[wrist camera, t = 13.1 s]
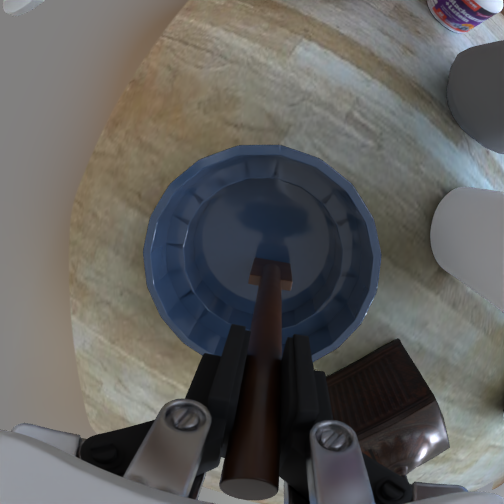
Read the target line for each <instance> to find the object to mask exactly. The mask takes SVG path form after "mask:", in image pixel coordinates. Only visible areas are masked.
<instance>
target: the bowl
mask: <svg viewBox="0 0 504 504" xmlns="http://www.w3.org/2000/svg"><path fill="white" fill-rule="evenodd" d="M143 257H144V266H145V275H146V283H147V287H148V290H149V292H150V294H151V297H152V299H153V301H154V303H155V305H156V308H157V310H158V312H159V314H160V316H161V318H162V319H163V320H164V321H165V323H166V324H167V325H168V326H169V327H170V328H171V330H172V331H173V332H174V333H175V334H176V335H177V336H178V338H179V339H180V340H181V341H182V342H183V343H184V344H186V345H187V346H189V347H190V348H192V349H193V350H195V351H196V352H198V353H199V354H201V355H202V356H203V354H204V353H208V354H213V355H218V356H222V353H223V349H224V346H225V343H226V340H227V337H228V334H229V330H230V327H231V324H236V325H241V326H246V330H248V331H250V329H251V324H252V319H253V313H254V308H255V303H256V297H257V292H258V287H259V286H258V285H252V284H248V281H249V275H250V271H251V268H252V264H253V261H254V258H255V257H256V258H262V259H268V260H274V261H279V262H285V263H290V265H291V273H292V281H293V283H292V288H291V291H287V290H281V298H282V356H283V352H284V348H285V344H286V340H287V337H291V338H292V337H293V335H294V334H297V335H304V336H308V337H309V342H310V349H311V355H312V362H314V361H316V360H318V359H319V358H321V357H323V356H325V355H327V354H328V353H330V352H332V351H334V350H335V349H337V348H338V347H339V346H340V345H341V344H342V343H343V342H344V341H345V340H346V339H347V338H348V337H349V336H350V335H351V334H352V333H353V332H354V331H355V330H356V329H357V328H358V327H359V326H360V324H361V323H362V321H363V319H364V317H365V315H366V313H367V311H368V309H369V307H370V305H371V303H372V301H373V299H374V297H375V295H376V291H377V287H378V280H379V272H380V264H381V250H380V245H379V240H378V235H377V231H376V226H375V222H374V219H373V217H372V215H371V213H370V212H369V210H368V208H367V207H366V205H365V203H364V202H363V200H362V198H361V197H360V195H359V194H358V192H357V190H356V189H355V187H354V186H353V185H352V184H351V183H350V182H349V181H348V180H347V179H345V178H344V177H343V176H342V175H341V174H339V173H338V172H337V171H336V170H334V169H333V168H332V167H330V166H329V165H328V164H327V163H325V162H324V161H323V160H321V159H319V158H317V157H314V156H312V155H309V154H306V153H303V152H300V151H297V150H294V149H291V148H288V147H285V146H282V145H281V146H280V145H239V146H235V147H232V148H229V149H226V150H223V151H221V152H218V153H215V154H212V155H210V156H207V157H204V158H202V159H200V160H198V161H197V162H196V163H194V164H193V165H192V166H191V167H189V168H188V169H187V170H186V171H185V172H183V173H182V174H181V175H180V176H179V177H177V178H176V179H175V180H174V181H173V182H172V183H170V185H169V186H168V188H167V189H166V191H165V192H164V194H163V196H162V197H161V199H160V201H159V202H158V204H157V206H156V207H155V209H154V211H153V213H152V214H151V217H150V220H149V224H148V229H147V234H146V238H145V243H144V248H143Z"/></svg>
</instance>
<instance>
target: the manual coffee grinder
mask: <svg viewBox="0 0 504 504" xmlns="http://www.w3.org/2000/svg"><path fill="white" fill-rule="evenodd" d="M326 381H327V386H328V392H329V397H330V403H331V408H332V414H333V420H337V421H340V422H343V423H345V424H347V425H348V426H350V427H351V428H352V429H353V430H354V431H355V433H356V435H357V438H358V442H359V445H360V449H361V452H363V453H364V454H366V455H367V456H369V457H370V458H372V459H374V460H375V461H377V462H378V463H380V464H382V465H383V466H385V467H386V468H388V469H390V470H391V471H393V472H395V473H396V474H398V475H400V476H402V477H403V478H404V479H406V480H407V481H408V479H407V476H406V475H407V474H408V473H409V472H411V471H412V470H413V469H415V468H416V467H418V466H420V465H422V464H424V463H425V462H427V461H429V460H430V459H432V458H434V457H435V456H437V455H439V454H440V453H442V452H443V451H445V450H447V449H448V448H450V445H449V440H448V435H447V431H446V426H445V422H444V418H443V415H442V413H441V410H440V408H439V405H438V403H437V401H436V398H435V396H434V394H433V393H432V391H431V390H430V388H429V387H428V385H427V384H426V382H425V380H424V379H423V377H422V375H421V374H420V372H419V371H418V369H417V367H416V366H415V364H414V363H413V361H412V359H411V358H410V356H409V355H408V353H407V352H406V350H405V348H404V347H403V345H402V343H401V341H400V339H396V340H394V341H393V342H391V343H389V344H387V345H385V346H383V347H381V348H379V349H377V350H376V351H374V352H372V353H371V354H369V355H367V356H365V357H364V358H362V359H360V360H358V361H356V362H354V363H353V364H351V365H349V366H347V367H345V368H343V369H341V370H339V371H338V372H336V373H334V374H332V375H330V376H328V377H326Z"/></svg>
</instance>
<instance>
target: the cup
mask: <svg viewBox="0 0 504 504" xmlns="http://www.w3.org/2000/svg"><path fill="white" fill-rule="evenodd" d="M447 99H448V105H449V108H450V110H451V113H452V115H453V117H454V119H455V120H456V122H457V123H458V125H459V126H460V127H461V129H463V130H464V131H465V132H466V133H467V134H468V135H470V136H471V137H472V138H473V139H475V140H476V141H477V142H478V143H480V144H481V145H482V146H484V147H485V148H487V149H490V150H492V151H495V152H497V153H500V154H504V40H503V41H497V42H492V43H488V44H483V45H479V46H474V47H471V48H469V49H467V50H465V51H463V52H461V53H459V54H458V55H457V57H456V59H455V61H454V62H453V64H452V66H451V69H450V74H449V79H448V84H447Z"/></svg>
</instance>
